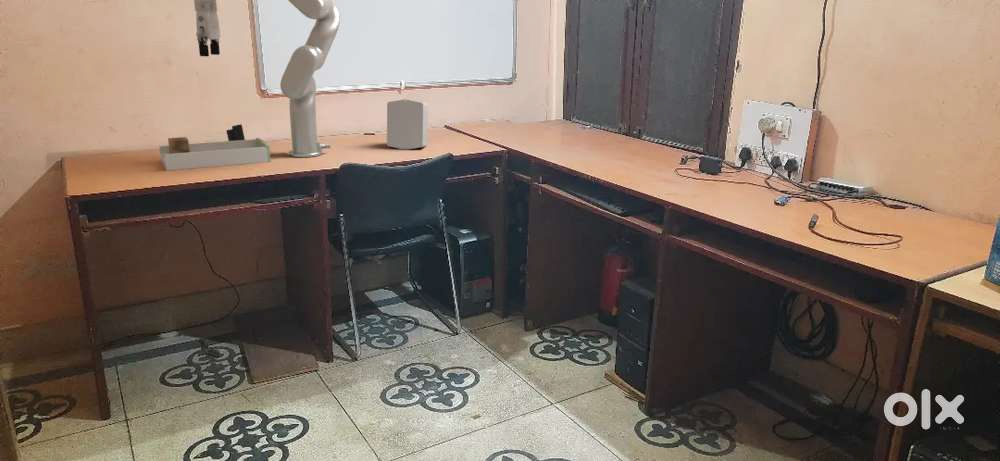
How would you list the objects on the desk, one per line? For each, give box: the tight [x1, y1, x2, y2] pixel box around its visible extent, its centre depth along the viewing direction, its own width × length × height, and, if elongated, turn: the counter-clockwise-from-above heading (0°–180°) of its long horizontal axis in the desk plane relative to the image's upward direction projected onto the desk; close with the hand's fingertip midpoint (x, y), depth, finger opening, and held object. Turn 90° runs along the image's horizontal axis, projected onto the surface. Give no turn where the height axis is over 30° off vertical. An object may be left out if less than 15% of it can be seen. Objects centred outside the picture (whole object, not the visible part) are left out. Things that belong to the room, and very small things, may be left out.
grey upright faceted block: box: [386, 98, 429, 150], centre depth 296 cm, size 15×15×20 cm
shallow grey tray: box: [158, 137, 271, 171], centre depth 262 cm, size 35×18×6 cm, turn 120°
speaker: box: [226, 124, 246, 141], centre depth 282 cm, size 8×6×10 cm
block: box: [167, 136, 190, 154], centre depth 259 cm, size 6×6×6 cm
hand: (210, 55), depth 268 cm, fingers open, 9 cm apart
